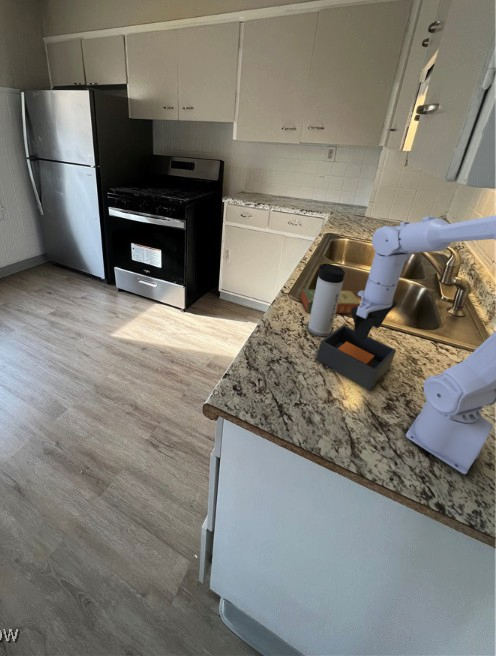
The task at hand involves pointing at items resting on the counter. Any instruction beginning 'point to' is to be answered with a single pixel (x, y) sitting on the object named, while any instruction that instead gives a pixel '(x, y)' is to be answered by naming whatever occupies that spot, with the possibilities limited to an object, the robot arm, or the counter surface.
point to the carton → (344, 303)
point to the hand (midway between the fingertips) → (367, 332)
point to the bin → (350, 365)
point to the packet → (357, 353)
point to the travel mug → (326, 299)
